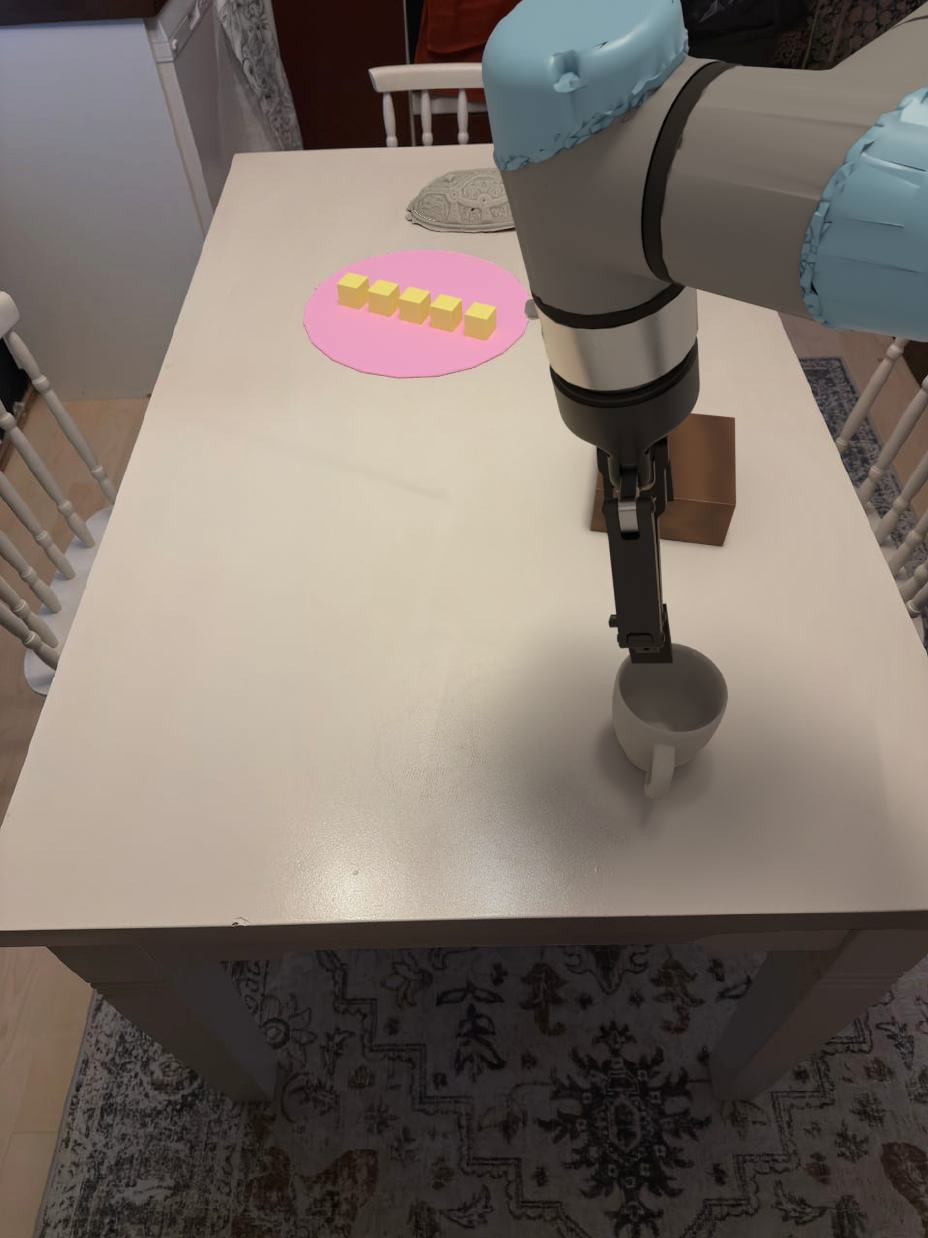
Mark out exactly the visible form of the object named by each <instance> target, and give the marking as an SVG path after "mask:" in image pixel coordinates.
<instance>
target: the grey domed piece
mask: <svg viewBox="0 0 928 1238" xmlns="http://www.w3.org/2000/svg"><path fill="white" fill-rule="evenodd" d="M406 210H409V211H410V213H405V217H406V219H407V220H408V221H411V222H412V223H413V224H418V225H421V226H422V227H424V228H426V229H428V230H429V231H435V232H441V233H444V232H448V233H449V232H463V233H480V232H484V233H487V232H496V231H502V230H506V229H512V228H515V226H514V222H513V218H512V214H511V210H510V206H509V202H508V198H507V195H506V191H505V188H504V184H503V181H502V177H501V174H500V170H499V169H498V168H497V167H478V168H471V169H457V170H456V169H455V170H453V171H448V172H446V173H444V174H442V175H440V176H437V177H436V178H435V179H433V180H431V181H430V182H429V183H427V185H425V186H424V187H422V188H421V189H420V190H419V192H418V194H417V195H415V196H414V198H412V199H411V200H410V201H409V202H408V204H407V205H406ZM414 210H415V211H416V212H417V213H418V214H417V213H416V212H415V211H414ZM419 214H420V215H421V216H420V215H419ZM422 216H423V217H422ZM424 217H425V218H424ZM426 218H427V219H426ZM429 219H431V220H429ZM433 220H435V221H433Z"/></svg>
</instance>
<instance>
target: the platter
mask: <svg viewBox="0 0 928 1238" xmlns="http://www.w3.org/2000/svg"><path fill="white" fill-rule="evenodd" d="M527 300H530V295H529V292H528V291H527V290H526V288H525V287H524V285H522V284H521V282H520V280H519V279H517V277H516V276H515V275H514V274H513V273H511V272H509V271H507V270H506V269H504V268H502V267H501V266H499V265H498V264H496V263H495V262H492V261H489V260H486V259H484V258H480V257H477V256H474V255H472V254H468V253H463V252H457V251H448V250H440V249H417V250H415V249H414V250H399V251H394V252H388V253H384V254H379V255H375V256H370V257H367V258H365V259H362V260H360V261H357V262H354V263H352V264H349V265H347V266H344V267H342V268H340V269H339V270H337V271H336V272H335V273H332V274H331V276H329V277H327V278H326V279H325V280H324V281H322V282H321V283H319V284H318V286H317V287H316V289H315V290H314V291H313V293H312V294H311V296H310V297H309V298H308V299H307V301H306V302H305V310H304V316H303V325H304V328H305V330H306V332H307V335H308V337H309V339H310V341H311V344H312V345H314V346H315V347H316V348H317V349H318V350H319V351H320V352H322V353H323V354H324V355H325V356H327V358H329V359H330V360H331V361H333V362H336V363H338V364H340V365H343V366H345V367H347V368H350V369H353V370H355V371H357V372H360V373H363V374H368V375H369V374H370V375H376V376H383V377H389V378H396V379H408V378H412V379H413V378H432V377H433V378H434V377H441V376H446V375H449V374H454V373H456V372H457V373H458V372H462V371H466V370H470V369H474V368H476V367H479V366H480V365H482V364H484V363H487V362H488V361H491V360H493V359H495V358H497V357H499V356H500V355H502V354H504V353H506V352H507V351H508V349H510V347H512V346H513V345H514V344H515V343H516V342H517V341H518V340H519V339H521V337H522V336H523V335H524V333H525V331H526V328H527V326H528V323H529V322H530V320H529V319H528V318H526V315H525V313H524V310H525V304H526V302H527Z"/></svg>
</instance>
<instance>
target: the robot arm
mask: <svg viewBox="0 0 928 1238" xmlns="http://www.w3.org/2000/svg"><path fill="white" fill-rule="evenodd" d="M688 33H689V31H688V29H687V28H685V22H684V16H683V8H682V2H681V0H520V2H519V3H517V4H516V5H515V6H514V8H513V9H512V10H511V11H510V12H509V13H508V14H507V15H506V16H504V17H502V18H501V19H500V21H498V23H497V24H496V25H495V27H494V29H493V30H492V32H491V34H490V36H489V37H488V40H487V42H486V44H485V47H484V50H483V54H482V58H481V80H482V85H483V92H484V96H485V97H484V98H485V103H486V109H487V115H488V120H489V126H490V132H491V138H492V144H493V152H492V159H493V162H494V165H495V168H498V169H499V170H500V174H501V177H502V181H503V184H504V188H505V191H506V195H507V198H508V202H509V206H510V210H511V214H512V218H513V222H514V226H515V227H514V230H515V233H516V237H517V241H518V245H519V249H520V253H521V257H522V261H523V263H524V264H523V265H524V268H525V272H526V277H527V280H528V286H529V290H530V294H531V299H530V298H529V300H527V302H526V304H525V310H524V313H525V315H526V318H528V319H529V321H536V320H539V323H540V329H541V337H542V342H543V346H544V350H545V354H546V358H547V360H548V362H549V375H550V378H551V383H552V387H553V391H554V395H555V400H556V403H557V407H558V411H559V415H560V417H561V421H563V423H564V425H565V426H566V428H567V429H568V430H569V431H570V432H571V433H572V434H573V435H574V436H576V437H577V438H579V439H580V440H582V441H584V442H585V443H588V444H590V445H592V446H594V447H596V449H595V450H596V465H597V469H598V470H599V471H600V472H601V474H602V476H603V489H604V501H603V505H602V515H604V518H605V524H606V529H607V532H606V535H607V542H608V550H609V559H610V560H609V561H610V569H611V579H612V588H613V589H612V590H613V598H614V608H615V614H610V616H609V619H608V627H609V628H610V629H611V628H615V629H617V633H616V641H617V643H618V647H619V649H628V653H629V655H630V658H631V662H632V664H656V663H673V650H672V643H673V642H672V637H671V628H670V620H669V613H668V605H667V603H665V602H664V598H663V595H664V594H663V577H662V576H663V575H662V557H661V555H662V554H661V553H662V552H661V539H660V533H659V516H660V515H661V514H663V513H664V511H665V509H666V505H667V502H673V501H674V488H673V478H672V467H671V457H670V446H669V436H668V434H669V433H671V432H672V431H674V430H677V428H678V427H679V426H680V425H681V424H682V423H683V422H684V421H685V420H686V419H687V417H688V416H689V415H690V413H693V410H694V408H695V407H696V404H697V402H698V399H699V395H700V391H701V389H700V388H701V377H700V359H699V357H700V356H699V342H698V341H699V340H698V336H697V335H698V332H699V311H698V293H697V292H698V290H699V291H702V292H706V293H710V294H713V295H717V296H721V297H724V298H727V299H730V300H731V299H732V300H734V301H738V302H742V303H745V304H748V305H749V304H750V305H753V306H757V307H760V308H764V309H768V310H771V311H775V312H778V313H783V314H786V315H790V316H792V317H796V318H800V319H804V320H808V321H811V322H814V323H819V324H821V325H822V326H823V327H824V328H827V329H831V330H835V331H838V332H841V333H842V332H843V333H845V332H847V331H851V332H854V333H860V332H866V333H871V334H876V335H882V336H887V337H894V338H899V339H904V340H909V341H915V342H920V343H928V0H926V1H925V2H924V3H923V4H922V5H920V7H918V8H916V9H915V10H914V11H913V12H911V13H910V14H908V15H907V16H905V17H904V18H903V19H902V20H900V21H899V22H897V23H896V24H894V25H893V26H892V27H891V28H889V29H888V30H886V31H885V32H883V33H882V34H881V35H879V36H878V37H876V38H875V39H873V40H871V41H870V42H869V43H867V44H866V45H865V46H863V47H862V48H860V49H859V50H857V51H855V52H854V53H853V54H851V55H850V56H848V57H846V58H845V59H844V60H842V61H841V62H839V63H838V64H837V65H835V66H834V67H832V68H830V69H823V70H822V69H821V70H812V69H797V68H796V69H795V68H778V67H764V66H763V67H761V66H749V65H747V66H746V65H745V66H744V65H743V64H741V63H733V62H732V63H730V62H726V61H724V60H721V59H720V60H719V59H710V58H697V57H693V56H691V55H688V54H689V50H690V47H689V36H688V35H689V34H688ZM598 470H597V471H598ZM615 487H616V488H618V489H620V491H619V498H616V496H615Z"/></svg>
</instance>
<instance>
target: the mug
mask: <svg viewBox="0 0 928 1238" xmlns="http://www.w3.org/2000/svg"><path fill="white" fill-rule="evenodd" d="M671 643H672V650H673V663H656V664H632V662H631V658H630V654H628V655H627V656H626V657H625V658H624V660H623V661H622V662H621V664H620V665H619V667H618V670H617V673H616V675H615V679H614V683H613V689H612V697H611V716H612V717H611V718H612V724H613V729H614V732H615V736H616V738H617V741H618V743H619V744H620V746H621V748H622V750H623V752H624V755H625V756H626V758H627V759H628V761H629V762H630V763H631V764H632V765H633V766H635V767H636V768H638V769H639V770H641V771H643V772H646V774H645V775H646V776H645V784H644V788H643V790H644V794H645V795H646V797H648V798H650V799H654V800H662V799H665V798H666V797H667V796H668V794H669V791H670V787H671V784H672V781H673V777H674V774H675V768H677V767H679V766H682V765H684V764H686V763H687V762H689V761H691V760H692V759H694V757H696V756H697V755H698V754H699V753H700V752H701V751H702V750H703V749H704V748H705V747H706V746H707V745H708V743H709V742H710V740H711V739H712V737H713V736H714V735H715V733H716V732H717V729H718V727H719V726H720V724H721V722H722V720H723V717H724V715H725V713H726V710H727V705H728V701H729V691H728V690H729V689H728V685H727V682H726V679H725V677H724V675H723V673H722V671H721V670H720V669H719V668H718V666H717V665H716V664H715V663H714V662H713V661H712V660H711V658H709V657H708V656H707V655H705V654H704V653H702V652H700V651H699V650H697V649H695V648H692V647H690V646H687V645H684V644H681V643H677V642H671Z"/></svg>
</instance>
